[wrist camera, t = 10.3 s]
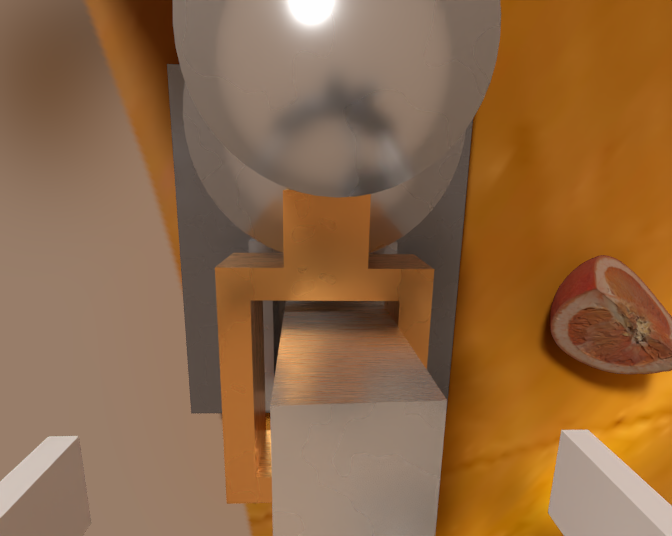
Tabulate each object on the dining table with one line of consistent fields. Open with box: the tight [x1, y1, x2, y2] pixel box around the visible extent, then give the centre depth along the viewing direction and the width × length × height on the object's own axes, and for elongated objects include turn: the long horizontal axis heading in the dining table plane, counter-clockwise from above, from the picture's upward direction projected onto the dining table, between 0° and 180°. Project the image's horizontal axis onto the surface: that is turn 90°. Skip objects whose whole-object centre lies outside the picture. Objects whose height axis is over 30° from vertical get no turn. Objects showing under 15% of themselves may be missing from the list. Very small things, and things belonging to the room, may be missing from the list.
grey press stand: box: [167, 0, 501, 504], centre depth 16 cm, size 22×17×18 cm
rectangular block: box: [270, 301, 447, 536], centre depth 16 cm, size 6×4×15 cm, turn 179°
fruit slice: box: [550, 255, 672, 374], centre depth 24 cm, size 8×7×5 cm
